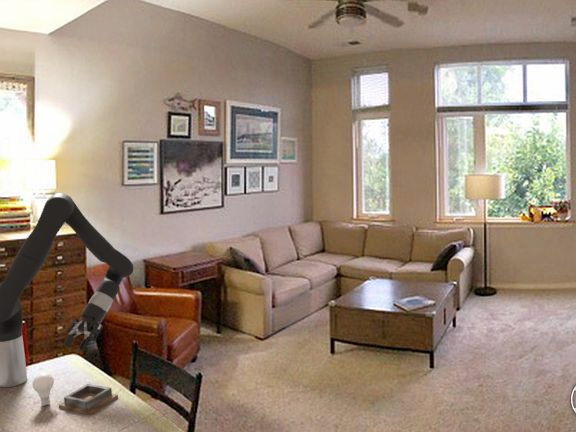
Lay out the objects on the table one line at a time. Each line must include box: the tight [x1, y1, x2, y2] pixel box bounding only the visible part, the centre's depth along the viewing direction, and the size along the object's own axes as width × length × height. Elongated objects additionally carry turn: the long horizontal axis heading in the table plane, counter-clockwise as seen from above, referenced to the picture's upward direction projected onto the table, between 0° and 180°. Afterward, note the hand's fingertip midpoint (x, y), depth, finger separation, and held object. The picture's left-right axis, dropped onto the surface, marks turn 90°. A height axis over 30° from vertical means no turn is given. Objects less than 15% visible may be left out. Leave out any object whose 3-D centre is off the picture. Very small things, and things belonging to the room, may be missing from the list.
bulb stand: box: [58, 383, 119, 416], centre depth 169 cm, size 14×12×4 cm
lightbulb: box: [32, 372, 55, 406], centre depth 169 cm, size 6×6×11 cm
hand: (72, 348), depth 177 cm, fingers open, 8 cm apart
